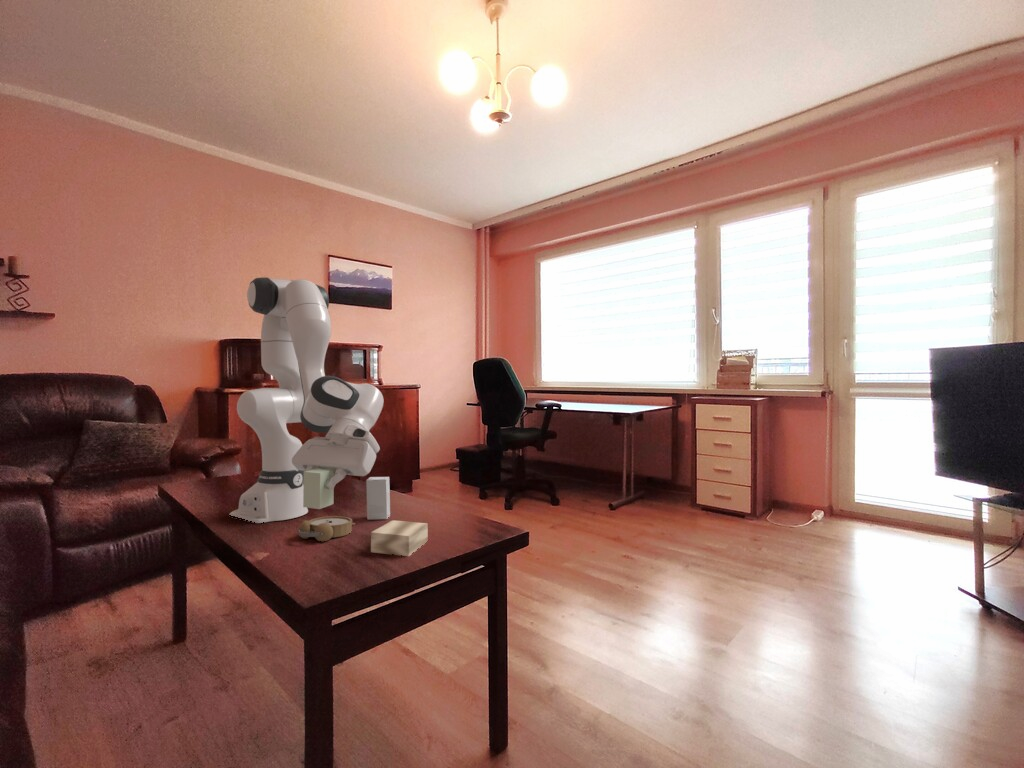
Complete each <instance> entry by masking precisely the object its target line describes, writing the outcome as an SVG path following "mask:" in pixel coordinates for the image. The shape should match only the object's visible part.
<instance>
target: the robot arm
mask: <svg viewBox="0 0 1024 768" xmlns="http://www.w3.org/2000/svg"><path fill="white" fill-rule="evenodd" d="M246 298H247V301H248V306H249V308H250V309H251V310H252V311H253V312H254V313H257V314H261V315H263V318H262V324H261V332H260V353H261V354H260V359H261V367H262V369H263V370H264V372H265V373H266V374H268V375H270V376H272V377H273V378H274V379H275V380H276V381H277V385H278V387H262V388H261V387H260V388H256V389H250V390H246V391H244V392H243V393H241V395H240V396H239V397H238V399H237V402H236V411H237V415H238V417H239V418H240V420H241V421H242V422H243V423H245V424H247V425H248V426H249V427H250V428H251V429H252V430H253V431H254V432H255V434H256V435H257V437H258V439H259V442H260V447H261V466H262V467H261V468H262V469H261V470H260V471H257V472H256V471H255V472H254V476H255V477H257V476H258V478H257V479H256V481H257V482H255V483H254V484H253V485H251V487H249V488H248V489H247V490H246V491H245V492H243V493H241V495H240V496H239V497H240V498H239V500H238V508H237V509H235V510H232V511H231V512H230V513H229V515H231V516H235V517H238V518H242V519H245V520H244V521H246V520H248V521H247V522H250V521H252V522H251V523H254V522H255V523H254V524H261V523H262V524H263V522H264V523H269V522H275V521H276V522H278V521H285V520H291V519H294V518H298V517H301V516H304V515H306V514H308V513H309V508H306V507H303V490H304V472H305V471H308V470H312V469H316V468H323V469H334V476H333V477H332V478H331V479H327V480H326V482H325V484H324V487H325V488H326V489H331V490H332V489H333V488H334V489H335V487H336V484H338V483H339V482H341V481H342V480H343V479H345V477H346V476H356V477H365V476H367V475H368V474H370V472H371V470H372V469H373V466H374V464H375V462H376V459H377V454H378V453H379V451H380V450H381V448H380V445H379V443H378V442H377V440H376V438H375V437H374V436H373V434H372V433H371V432H370V430H371V429H372V428H373V427H374V426H375V424H376V422H377V421H378V419H379V417H380V416H381V415H380V414H381V413H382V410H383V408H384V402H385V401H384V400H385V399H384V396H383V393H382V392H381V390H380V389H379V388H377V387H376V386H375V385H373V384H371V383H367V382H365V383H353V382H348V381H345V380H343V379H342V378H340V377H337V376H335V375H334V376H333V375H326V374H325V373H326V372H325V359H326V353H327V352H328V351H327V350H328V347H329V344H330V340H331V337H332V322H331V316H330V312H329V306H330V296H329V293H328V292H327V290H326V288H325V287H323V286H321V285H319V284H315V283H314V282H313V281H311V280H308V279H283V278H269V277H263V276H262V277H255V278H254V279H253V280H251V281H250V283H249V286H248V288H247V292H246ZM293 423H295V424H296V423H301V424H302V425H303V426H304V427H305V428H306V429H307V430H308V431H310V432H313V433H316V434H326V435H325V436H317V435H316V436H314V437H312V438H310V439H308V440H306V441H305V442H304V444H303V443H302V441H301V440H300V439H299V438H298V437H296V436H294V435H292V434H290V433H289V430H288V428H287V424H293ZM229 515H228V516H229Z"/></svg>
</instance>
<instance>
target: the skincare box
mask: <svg viewBox="0 0 1024 768" xmlns="http://www.w3.org/2000/svg"><path fill="white" fill-rule="evenodd" d="M365 481H366V482H365V483H366V484H365V485H366V519H367V520H370V521H371V520H387V519H389V518H390V517H391V497H390V495H391V494H390V493H391V492H390V491H391V490H390V487H391V486H390V476H370V477H368V478H367V479H366V480H365ZM388 517H389V518H388Z"/></svg>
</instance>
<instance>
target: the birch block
mask: <svg viewBox="0 0 1024 768" xmlns="http://www.w3.org/2000/svg"><path fill="white" fill-rule="evenodd" d="M428 529H429V525H428V523H427V522H415V521H406V520H405V521H404V520H394V519H392V520H390V521H388V522H387V523H385V524H384V525H382V526H380V527H378V528H376V529H374V530H372V531H371V532H370V552H371V553H375V554H376V553H377V554H385V555H392V554H394V555H395V556H401V555H402V556H403V557H410V556H411V555H413V554H414V553H416V551H418V550H419V549H420V548H422V547H423V546H424V545H425V543H426V542H427V541H428V540H429V539H428V538H429V535H428V533H429V530H428ZM427 543H428V542H427ZM427 543H426V544H427ZM422 545H423V546H422ZM421 546H422V547H421ZM418 548H419V549H418ZM417 549H418V550H417ZM413 552H414V553H413ZM412 553H413V554H412Z"/></svg>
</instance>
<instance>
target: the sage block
mask: <svg viewBox="0 0 1024 768" xmlns="http://www.w3.org/2000/svg"><path fill="white" fill-rule="evenodd" d="M334 475H335V474H334V469H323V468H316V469H312V470H308V471H304V485H303V486H304V490H303V507H306V508H307V509H315V510H323V508H328V507H329V506H332V505H334V494H335V493H334V490H335V487H334V488H333V489H332V490H331V489H326V488H325V487H324V484H325V482H326V480H327V479H331V478H332V477H333V476H334Z"/></svg>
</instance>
